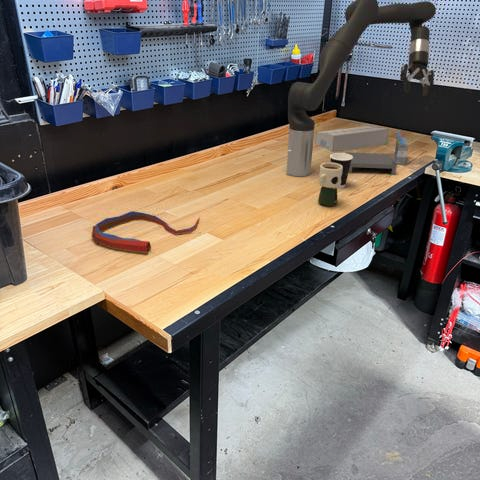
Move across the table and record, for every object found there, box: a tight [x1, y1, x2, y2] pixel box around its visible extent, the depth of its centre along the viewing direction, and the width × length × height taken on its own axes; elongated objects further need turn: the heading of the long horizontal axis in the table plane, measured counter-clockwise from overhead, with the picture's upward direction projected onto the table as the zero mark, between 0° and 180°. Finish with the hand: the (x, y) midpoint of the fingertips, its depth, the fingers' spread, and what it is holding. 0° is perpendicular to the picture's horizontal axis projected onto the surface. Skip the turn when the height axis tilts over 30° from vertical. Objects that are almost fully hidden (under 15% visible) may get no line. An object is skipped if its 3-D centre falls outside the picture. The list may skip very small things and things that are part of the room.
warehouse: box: [314, 125, 390, 153], centre depth 211 cm, size 30×14×8 cm, turn 114°
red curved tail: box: [91, 210, 201, 254], centre depth 132 cm, size 31×22×5 cm
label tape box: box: [393, 130, 409, 166], centre depth 187 cm, size 9×4×12 cm, turn 168°
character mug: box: [317, 162, 343, 207], centre depth 147 cm, size 11×7×13 cm, turn 136°
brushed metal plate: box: [344, 151, 398, 176], centre depth 181 cm, size 18×14×4 cm
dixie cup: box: [329, 152, 353, 189], centre depth 162 cm, size 8×8×11 cm
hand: (416, 93), depth 183 cm, fingers open, 8 cm apart
